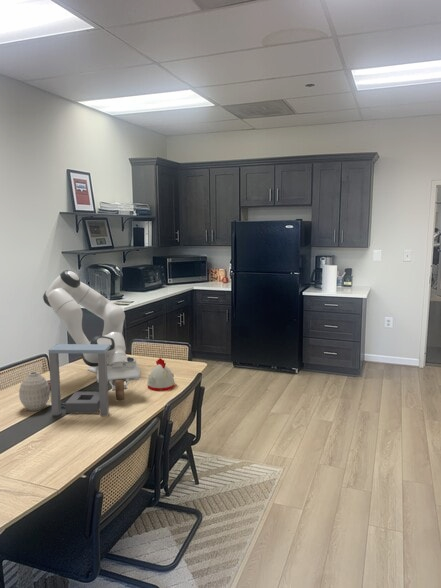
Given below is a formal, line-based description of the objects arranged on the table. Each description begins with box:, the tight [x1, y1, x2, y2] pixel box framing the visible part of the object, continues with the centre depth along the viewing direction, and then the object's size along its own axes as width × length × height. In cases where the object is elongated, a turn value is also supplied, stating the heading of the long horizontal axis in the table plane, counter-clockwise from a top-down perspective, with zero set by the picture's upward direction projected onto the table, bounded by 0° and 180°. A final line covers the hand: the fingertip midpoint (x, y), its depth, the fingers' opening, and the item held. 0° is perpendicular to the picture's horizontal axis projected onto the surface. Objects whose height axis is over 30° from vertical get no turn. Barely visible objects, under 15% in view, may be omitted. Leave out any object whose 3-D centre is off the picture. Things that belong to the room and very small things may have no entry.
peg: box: [114, 379, 125, 402], centre depth 202 cm, size 4×4×9 cm
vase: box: [18, 371, 51, 412], centre depth 196 cm, size 13×13×17 cm
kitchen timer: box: [147, 357, 176, 392], centre depth 224 cm, size 14×14×15 cm
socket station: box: [48, 343, 110, 416], centre depth 195 cm, size 16×24×30 cm
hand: (119, 389), depth 201 cm, fingers closed on peg, 4 cm apart
